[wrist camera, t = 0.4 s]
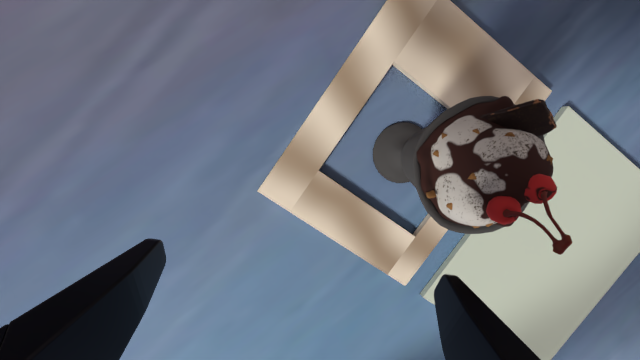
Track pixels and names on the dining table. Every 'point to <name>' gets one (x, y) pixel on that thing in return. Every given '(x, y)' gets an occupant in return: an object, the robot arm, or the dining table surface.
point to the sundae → (476, 164)
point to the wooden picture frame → (350, 96)
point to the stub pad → (536, 247)
